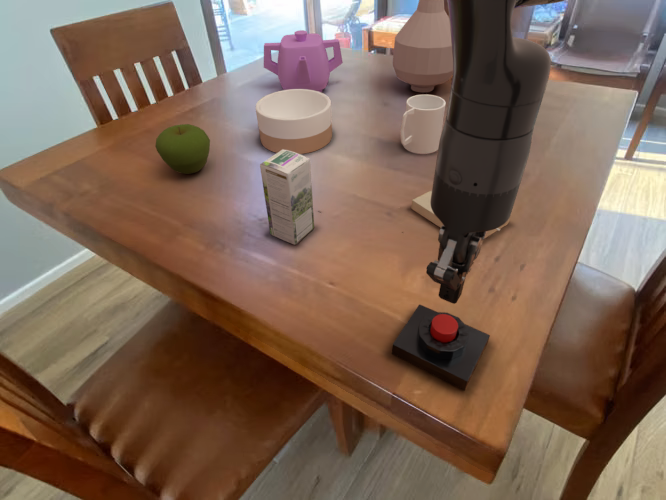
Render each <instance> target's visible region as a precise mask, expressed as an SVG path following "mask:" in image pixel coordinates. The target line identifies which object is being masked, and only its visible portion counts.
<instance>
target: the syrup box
mask: <svg viewBox="0 0 666 500" xmlns="http://www.w3.org/2000/svg"><path fill="white" fill-rule="evenodd" d="M311 167H312V166H311V159H310V158H309V157H308V156H305V155H303V154H298V153H295V152H292V151H289V150H284V149H282V150H281V151H280V152H278V153H275V154H274V155H272V156H270V157H269V158H267V159H265V160H264V161H263V162H261V163H260V164H259V168H260V175H261V182H262V188H263V195H264V201H265V202H264V203H265V208H266V215H267V222H268V228H269V234H270V235H271V236H273V237H275V238H278V239H279V240H281V241H284V242H286V243H289V244H291V245H293V246H296V245H298V244H299V242H301V241H302V240H303V239H304V238H305V237H306V236H307V235H309V233H311V232H312V231H313V229H315V220H314V219H315V218H314V217H315V216H314V202H313V183H312V182H313V181H312V170H311V169H312V168H311Z"/></svg>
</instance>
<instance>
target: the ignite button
mask: <svg viewBox="0 0 666 500" xmlns="http://www.w3.org/2000/svg"><path fill="white" fill-rule="evenodd" d="M457 330H458V323H457V321H456V320H455V319H454V318H453V317H452V316H450V315H446V314H440V315H437V316H435V317H434V318H433V320H432V324H431V329H430V332H431V335H432V337H433V338H434V339H435V340H437V341H439V342H442V343H448V342H451V341H453V340H454V339H455V337H456V334H457Z"/></svg>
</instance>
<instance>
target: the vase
mask: <svg viewBox="0 0 666 500" xmlns="http://www.w3.org/2000/svg"><path fill="white" fill-rule="evenodd" d="M392 67H393V70H394V73H395V76H396V77H397V79H399V80H400V81H401V82H404V83H406V84H408V85H410V89H411V90H412V91H413V92H416V93H430V92H432V91H433V90H434V89H435V87H436V86H439V85H441V84H443V83H446V82H448V81H449V80H450V79H452V76H453V55H452V43H451V30H450V19H449V14H447V12H446V10H445V0H418V3H417V7H416V10H415V11H414V12H413V14H412V15H411V16H410V17H409V18H408V20H407V21H406V22H405V24H404V25H403V26H402V27H401V28H400V30H399V31H397V33H396V35H395V36H394V44H393V54H392Z"/></svg>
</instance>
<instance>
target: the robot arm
mask: <svg viewBox="0 0 666 500" xmlns="http://www.w3.org/2000/svg"><path fill="white" fill-rule="evenodd" d="M565 1H566V0H446V2H447V8H448V17H449V19H450V30H451V43H452V55H453V75H452V76H451V83H450V89H449V96H448V103H447V110H446V115H445V120H444V123H443V126H442V133H441V137H440V142H439V147H438V150H437V154H436V161H435V168H434V175H433V182H432V189H431V190H432V194H431V202H430V203H431V208H432V211H433V213H434V214H435V215H436V217H437V218H438V219H439V220H440V221H441V222H442V223H443V225H442V227H441V228H440V229H439V232H438V238H437V240H438V243H439V247H438V254H437V260H436V259H435V260H433V261H429V263H428V264H427V266H426V271H425V273H426V275H427V276H428V277H429V278H430V279H431V280H432V281H433V282H434V283H437V284H439V285H440V286H439V291H438V297H439V298H440V299H441V300H443V301H446V302H448V303H450V304H453V305H455V304H457V303H458V301H459V299H460V298H461V296H462V293H463V289H464V286H465V282H466V277H467V275H468V274H469V273H471V270H472V266H473V265H474V262H475V260H476V259H477V258H478V256H479V255H480V252H481V250H482V246H483V242H484V240H485V239H486V238H487V237H486V235H487V233H488V231H490V230H494V229H496V228H498V227H500V226H502V225H503V224H505V223H506V222H507V220H508V219H509V217H510V218H511V216H512V212H513V210H514V209H513V208H514V205H515V202H516V199H517V195H518V192H519V189H520V186H521V183H522V180H523V176H524V173H525V169H526V167H527V163H528V160H529V156H530V153H531V147H532V139H533V134H534V130H535V125H536V122H537V118H538V115H539V113H540V109H541V105H542V102H543V98H544V95H545V94H546V93H545V92H546V89H547V86H548V82H549V79H550V73H551V68H552V67H551V66H552V60H551V56H550V54H549V52H548V50H547V49H546V48H545V47H544V46H543V45H541V44H539V43H537V42H535V41H533V40H530V39H525V38H521V37H517V36H513V29H512V18H513V14H514V10H515V9H519V8H524V7H525V8H527V7H534V6H543V5H550V4H558V3H562V2H565ZM510 215H511V216H510ZM509 220H510V219H509ZM485 237H486V238H485ZM484 238H485V239H484Z"/></svg>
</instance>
